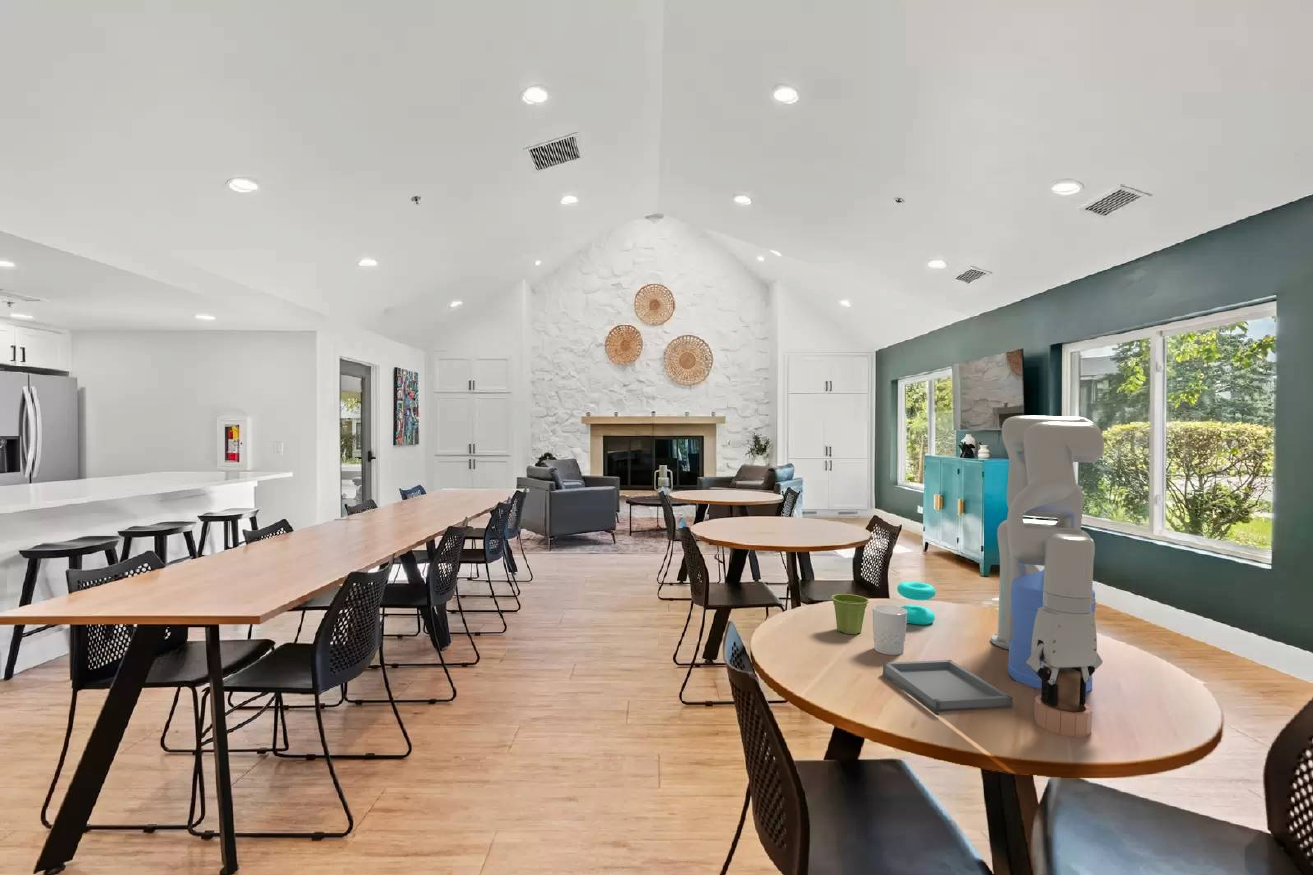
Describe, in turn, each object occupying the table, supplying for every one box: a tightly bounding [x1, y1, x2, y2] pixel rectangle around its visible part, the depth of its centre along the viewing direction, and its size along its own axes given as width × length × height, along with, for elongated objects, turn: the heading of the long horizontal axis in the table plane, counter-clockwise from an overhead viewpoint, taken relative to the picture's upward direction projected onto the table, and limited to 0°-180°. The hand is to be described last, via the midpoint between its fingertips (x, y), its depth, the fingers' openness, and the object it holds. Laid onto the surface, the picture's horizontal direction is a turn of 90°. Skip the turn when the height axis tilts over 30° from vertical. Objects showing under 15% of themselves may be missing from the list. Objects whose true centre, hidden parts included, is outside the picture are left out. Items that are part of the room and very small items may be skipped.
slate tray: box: [882, 659, 1013, 715], centre depth 137 cm, size 16×20×2 cm
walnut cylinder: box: [1047, 668, 1081, 713], centre depth 121 cm, size 5×5×10 cm
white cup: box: [872, 604, 908, 656], centre depth 161 cm, size 8×8×10 cm
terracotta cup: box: [1033, 693, 1093, 738], centre depth 121 cm, size 9×9×4 cm
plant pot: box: [830, 593, 870, 635], centre depth 175 cm, size 9×9×9 cm
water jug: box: [1007, 569, 1097, 693], centre depth 143 cm, size 16×16×28 cm
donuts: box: [896, 581, 937, 626], centre depth 186 cm, size 10×10×10 cm
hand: (1063, 701), depth 121 cm, fingers closed on walnut cylinder, 5 cm apart
